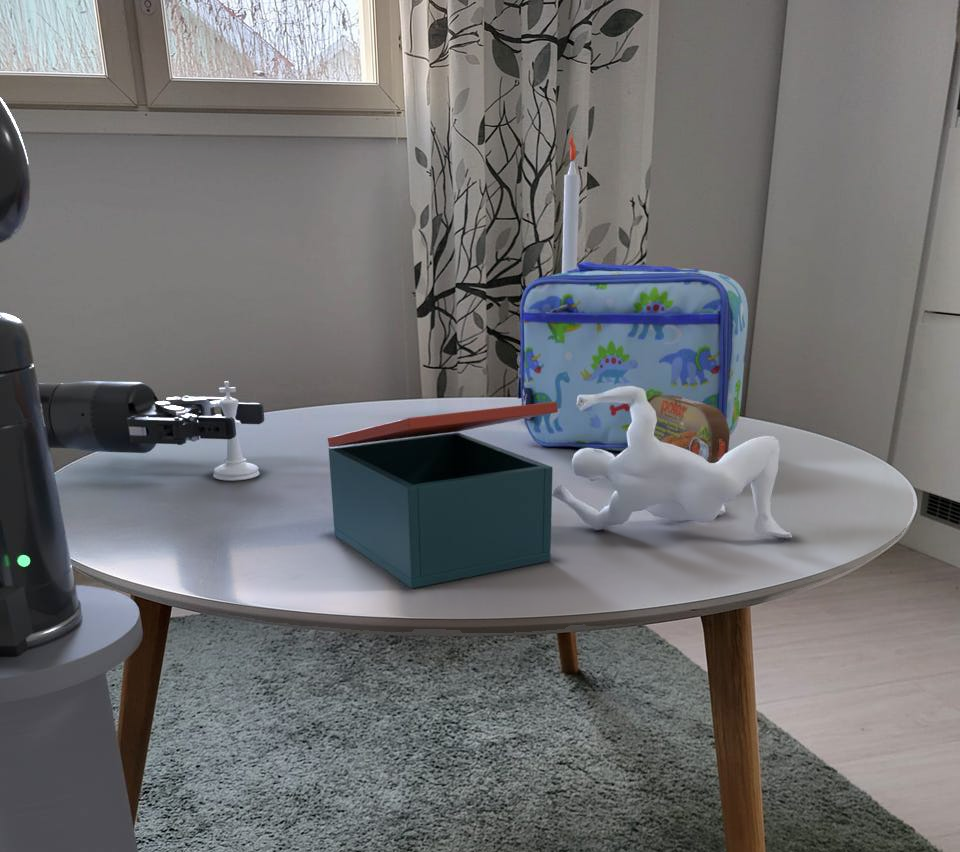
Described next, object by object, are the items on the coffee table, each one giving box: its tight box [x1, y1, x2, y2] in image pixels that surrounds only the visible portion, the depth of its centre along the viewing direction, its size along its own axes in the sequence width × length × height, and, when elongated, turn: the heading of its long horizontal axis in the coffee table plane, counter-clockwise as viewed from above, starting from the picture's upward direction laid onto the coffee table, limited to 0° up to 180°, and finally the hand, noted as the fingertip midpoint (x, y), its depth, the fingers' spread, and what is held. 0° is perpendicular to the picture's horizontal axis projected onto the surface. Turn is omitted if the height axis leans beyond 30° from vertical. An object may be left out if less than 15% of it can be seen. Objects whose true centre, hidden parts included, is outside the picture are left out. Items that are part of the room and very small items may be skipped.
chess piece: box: [213, 380, 261, 482], centre depth 104 cm, size 5×5×10 cm
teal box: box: [328, 432, 554, 589], centre depth 80 cm, size 16×13×8 cm
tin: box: [647, 394, 731, 463], centre depth 101 cm, size 15×3×8 cm, turn 19°
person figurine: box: [552, 386, 793, 539], centre depth 83 cm, size 13×13×18 cm
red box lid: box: [327, 402, 558, 448], centre depth 78 cm, size 17×13×1 cm
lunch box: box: [516, 260, 749, 452], centre depth 113 cm, size 26×11×21 cm, turn 62°
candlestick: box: [561, 133, 581, 273], centre depth 124 cm, size 11×11×35 cm
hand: (248, 420), depth 103 cm, fingers open, 7 cm apart
